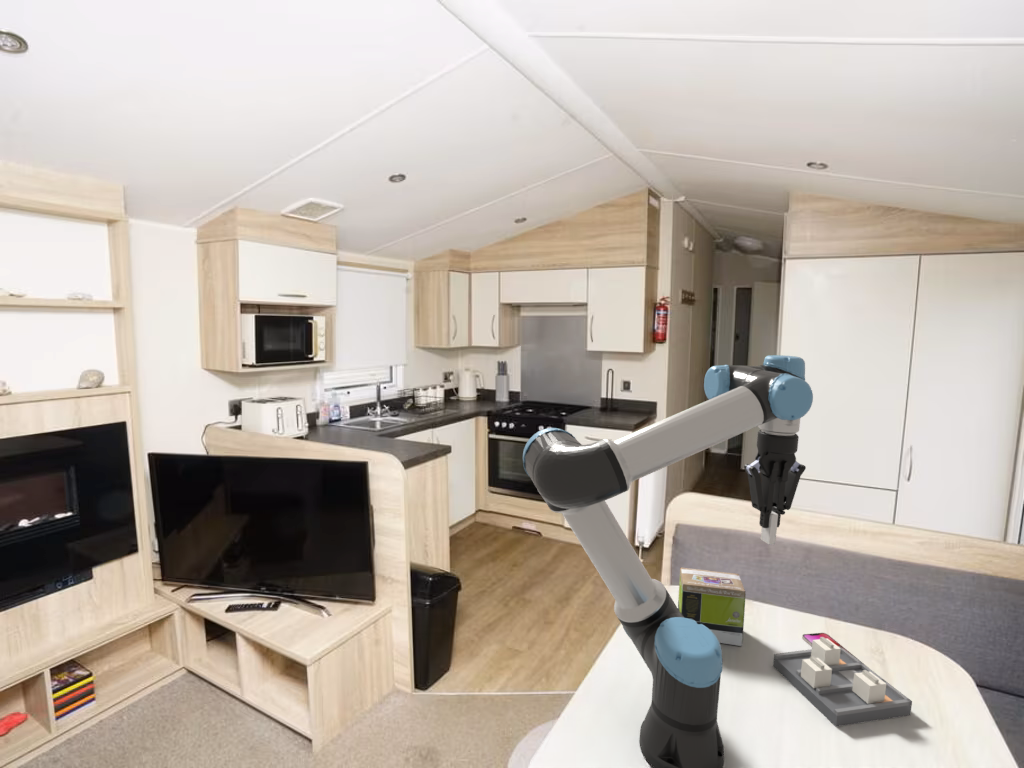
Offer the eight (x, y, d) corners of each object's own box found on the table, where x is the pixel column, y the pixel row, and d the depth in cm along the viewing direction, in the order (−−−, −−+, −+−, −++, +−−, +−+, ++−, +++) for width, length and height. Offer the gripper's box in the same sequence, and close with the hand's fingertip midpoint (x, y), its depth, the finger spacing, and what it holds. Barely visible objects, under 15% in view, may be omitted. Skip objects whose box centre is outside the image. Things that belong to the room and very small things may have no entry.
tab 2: (813, 688, 117) (816, 667, 117) (800, 676, 121) (802, 656, 120) (830, 686, 118) (832, 665, 117) (816, 674, 122) (818, 654, 121)
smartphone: (845, 673, 126) (800, 634, 141) (844, 677, 126) (799, 637, 141) (873, 670, 127) (825, 632, 142) (872, 674, 127) (825, 635, 142)
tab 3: (867, 703, 113) (870, 682, 112) (852, 690, 117) (854, 669, 116) (884, 701, 114) (886, 680, 113) (868, 688, 118) (870, 667, 117)
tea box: (735, 625, 145) (740, 572, 143) (742, 648, 135) (747, 591, 133) (676, 617, 148) (680, 565, 146) (678, 638, 139) (682, 583, 137)
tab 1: (823, 666, 125) (826, 647, 124) (810, 655, 128) (813, 636, 128) (838, 664, 125) (841, 645, 125) (825, 654, 129) (827, 635, 129)
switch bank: (835, 726, 110) (837, 712, 110) (772, 666, 128) (774, 653, 128) (910, 715, 114) (912, 701, 113) (838, 658, 132) (840, 646, 132)
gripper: (761, 436, 107) (751, 551, 110) (819, 435, 109) (807, 547, 113) (738, 428, 114) (729, 536, 117) (793, 427, 117) (782, 532, 120)
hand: (767, 541), depth 115 cm, fingers closed
